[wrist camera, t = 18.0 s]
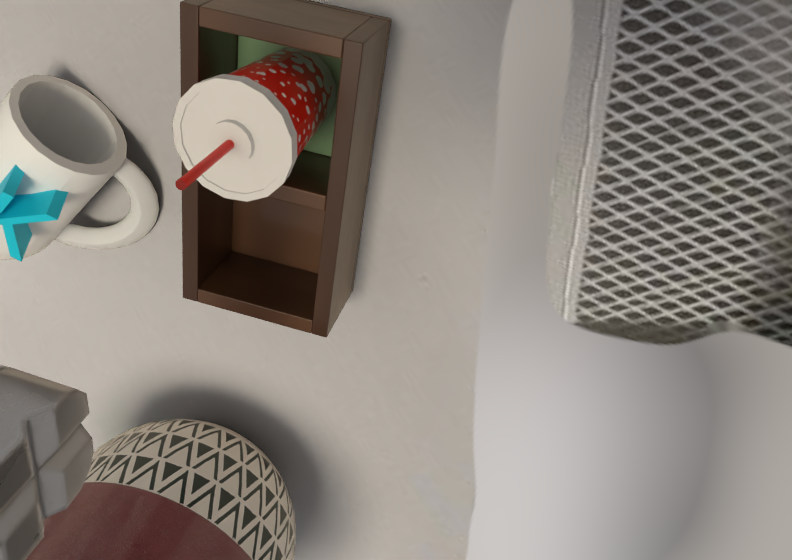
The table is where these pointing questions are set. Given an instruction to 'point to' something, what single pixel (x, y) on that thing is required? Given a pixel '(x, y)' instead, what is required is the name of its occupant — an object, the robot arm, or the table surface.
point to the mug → (63, 169)
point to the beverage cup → (252, 123)
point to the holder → (311, 174)
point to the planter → (175, 500)
